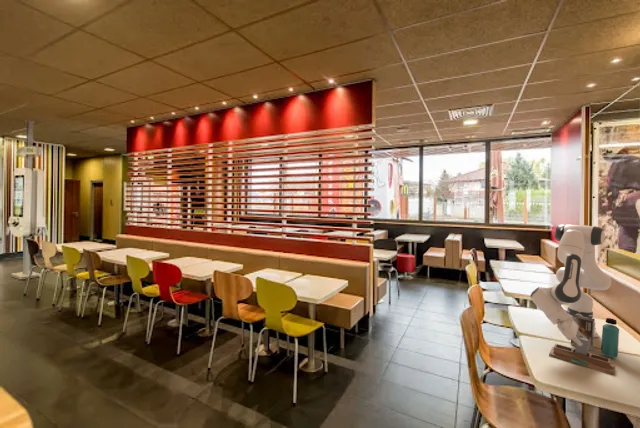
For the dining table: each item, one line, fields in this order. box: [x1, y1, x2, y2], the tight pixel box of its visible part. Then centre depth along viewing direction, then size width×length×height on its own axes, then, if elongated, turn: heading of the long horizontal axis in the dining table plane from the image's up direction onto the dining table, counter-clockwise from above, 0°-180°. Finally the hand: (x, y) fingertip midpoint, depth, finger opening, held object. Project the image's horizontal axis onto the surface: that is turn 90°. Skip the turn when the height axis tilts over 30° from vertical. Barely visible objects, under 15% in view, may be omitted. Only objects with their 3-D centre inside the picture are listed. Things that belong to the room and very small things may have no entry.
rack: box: [548, 343, 615, 376], centre depth 153 cm, size 13×24×4 cm, turn 46°
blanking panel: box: [574, 337, 589, 356], centre depth 153 cm, size 3×4×10 cm, turn 46°
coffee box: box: [570, 314, 596, 351], centre depth 170 cm, size 9×6×16 cm
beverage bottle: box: [600, 317, 620, 358], centre depth 158 cm, size 6×7×20 cm
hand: (582, 342), depth 153 cm, fingers open, 8 cm apart
